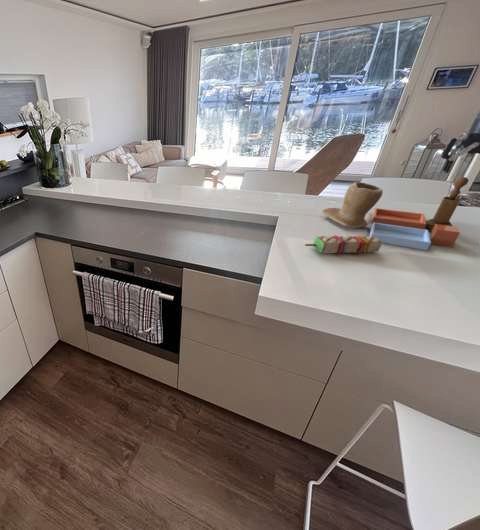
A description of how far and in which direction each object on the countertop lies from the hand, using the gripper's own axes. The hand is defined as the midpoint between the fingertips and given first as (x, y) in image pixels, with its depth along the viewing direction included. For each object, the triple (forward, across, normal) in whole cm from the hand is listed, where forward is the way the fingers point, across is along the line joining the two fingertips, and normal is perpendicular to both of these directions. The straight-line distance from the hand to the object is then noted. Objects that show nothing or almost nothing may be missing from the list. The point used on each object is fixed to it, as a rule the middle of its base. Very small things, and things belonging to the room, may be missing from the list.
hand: (465, 173), depth 90 cm
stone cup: (+20, -25, -6) cm, 32 cm away
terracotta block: (+19, 0, -12) cm, 23 cm away
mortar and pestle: (+19, 0, 0) cm, 19 cm away
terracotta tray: (+19, -10, +2) cm, 22 cm away
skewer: (+20, -25, -34) cm, 46 cm away
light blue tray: (+19, -10, -15) cm, 26 cm away
